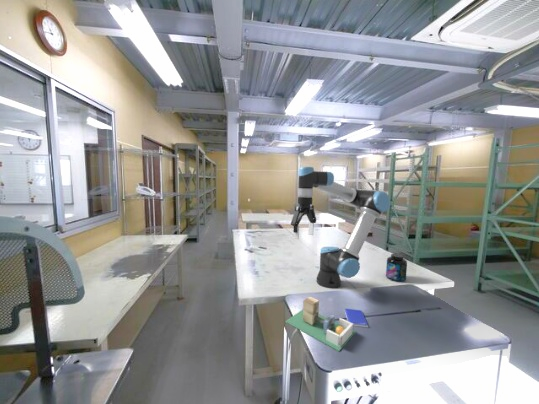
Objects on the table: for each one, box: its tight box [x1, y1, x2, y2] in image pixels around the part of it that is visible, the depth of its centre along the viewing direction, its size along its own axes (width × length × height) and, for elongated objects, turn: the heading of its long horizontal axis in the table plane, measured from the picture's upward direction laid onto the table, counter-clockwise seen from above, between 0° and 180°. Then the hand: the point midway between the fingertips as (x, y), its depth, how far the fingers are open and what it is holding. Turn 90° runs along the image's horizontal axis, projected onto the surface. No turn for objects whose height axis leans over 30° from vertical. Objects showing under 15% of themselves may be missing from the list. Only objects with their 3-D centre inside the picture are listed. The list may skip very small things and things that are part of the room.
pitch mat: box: [284, 309, 357, 352], centre depth 101 cm, size 16×26×1 cm, turn 47°
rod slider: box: [302, 296, 336, 334], centre depth 101 cm, size 7×12×10 cm, turn 47°
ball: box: [335, 326, 345, 335], centre depth 95 cm, size 4×4×4 cm
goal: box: [326, 317, 355, 347], centre depth 95 cm, size 12×6×4 cm, turn 137°
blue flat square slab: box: [344, 308, 369, 328], centre depth 108 cm, size 2×8×12 cm
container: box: [385, 253, 408, 283], centre depth 155 cm, size 12×12×17 cm
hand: (303, 236), depth 122 cm, fingers open, 13 cm apart
